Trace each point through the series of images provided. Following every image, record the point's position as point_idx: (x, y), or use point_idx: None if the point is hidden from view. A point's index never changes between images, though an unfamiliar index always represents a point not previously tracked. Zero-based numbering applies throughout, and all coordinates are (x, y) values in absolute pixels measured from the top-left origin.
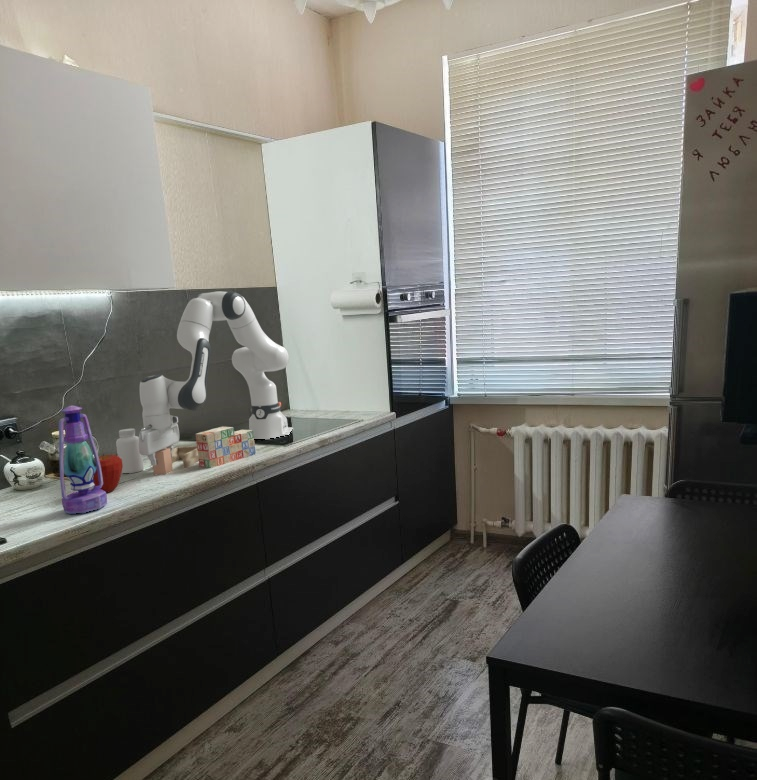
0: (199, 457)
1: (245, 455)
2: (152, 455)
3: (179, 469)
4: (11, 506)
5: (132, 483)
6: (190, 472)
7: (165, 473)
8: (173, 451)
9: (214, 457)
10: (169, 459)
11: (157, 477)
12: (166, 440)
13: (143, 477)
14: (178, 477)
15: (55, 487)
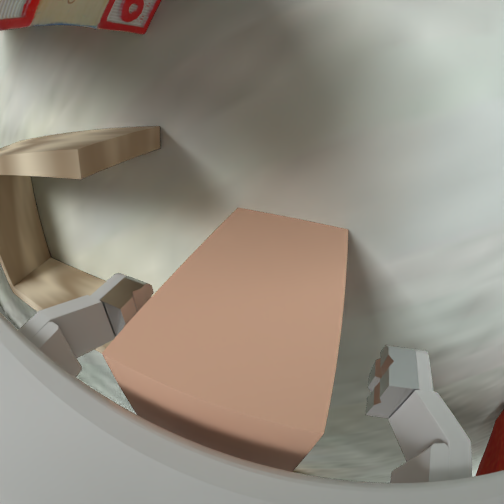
0: (92, 12)
1: None
2: (466, 454)
3: (204, 163)
4: (473, 475)
5: (480, 362)
6: (329, 9)
7: (347, 236)
8: (39, 295)
9: None
10: (223, 272)
11: (427, 269)
12: (64, 491)
13: (377, 353)
14: (486, 82)
15: (364, 481)
